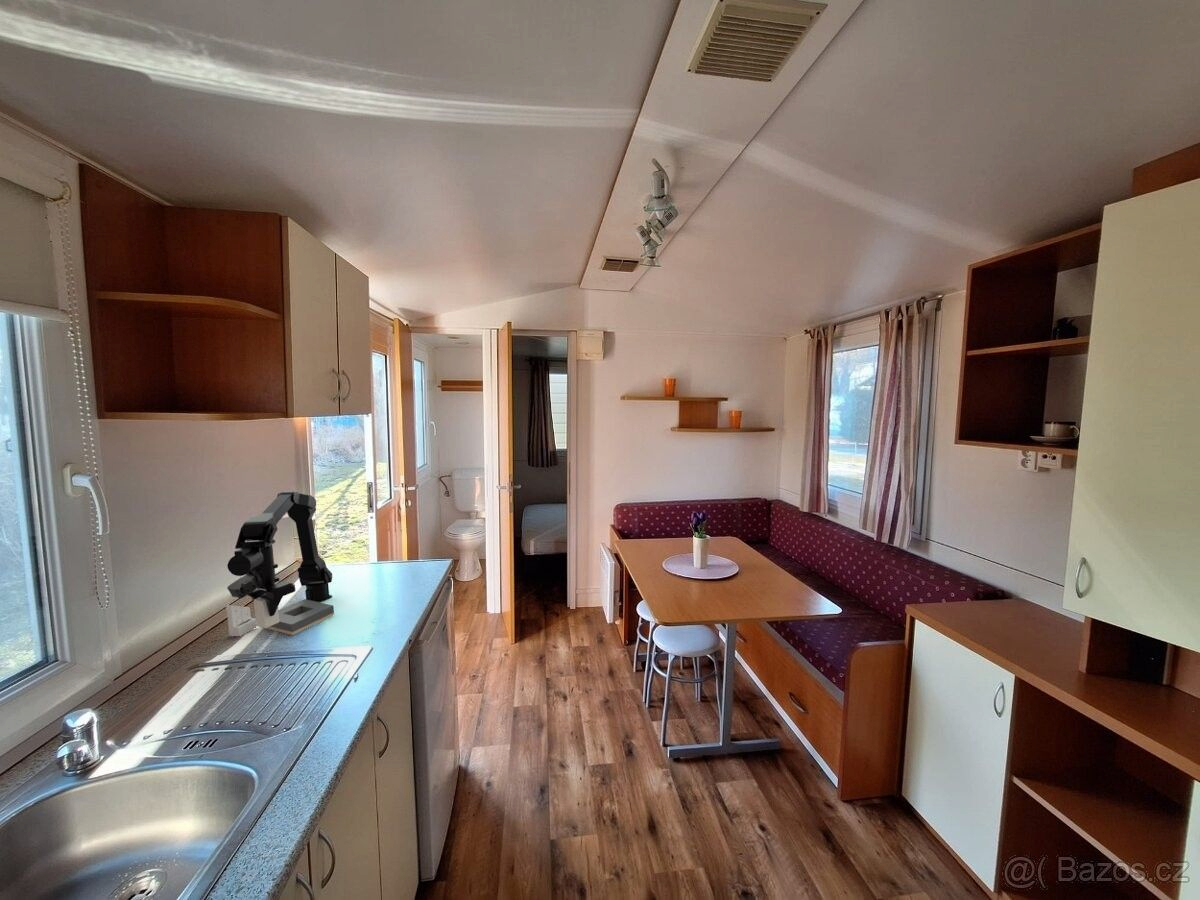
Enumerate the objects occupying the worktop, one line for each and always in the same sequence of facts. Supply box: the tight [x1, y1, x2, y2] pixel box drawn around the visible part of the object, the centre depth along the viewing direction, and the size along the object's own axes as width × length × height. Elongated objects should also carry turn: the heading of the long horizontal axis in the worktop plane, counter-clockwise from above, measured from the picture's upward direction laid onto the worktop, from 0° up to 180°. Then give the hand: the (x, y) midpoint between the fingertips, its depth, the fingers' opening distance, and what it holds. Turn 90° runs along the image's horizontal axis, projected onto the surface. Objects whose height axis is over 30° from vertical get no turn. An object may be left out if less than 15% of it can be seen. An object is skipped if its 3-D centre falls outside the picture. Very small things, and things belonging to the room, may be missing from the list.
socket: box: [266, 598, 335, 636], centre depth 152 cm, size 14×14×4 cm
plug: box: [253, 594, 279, 629], centre depth 137 cm, size 4×4×9 cm
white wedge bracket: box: [225, 604, 258, 637], centre depth 145 cm, size 4×10×9 cm, turn 168°
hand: (267, 614), depth 137 cm, fingers closed on plug, 4 cm apart
